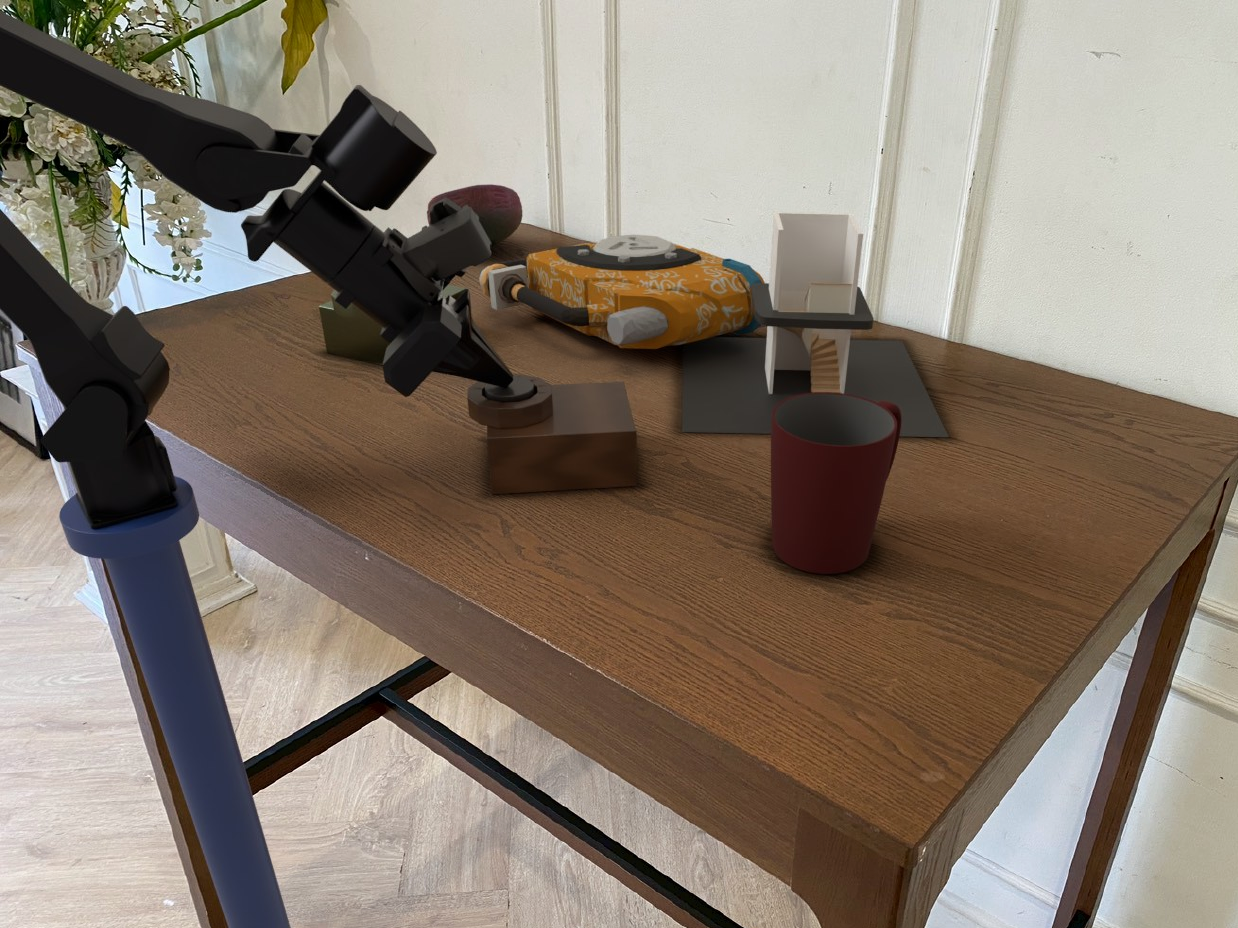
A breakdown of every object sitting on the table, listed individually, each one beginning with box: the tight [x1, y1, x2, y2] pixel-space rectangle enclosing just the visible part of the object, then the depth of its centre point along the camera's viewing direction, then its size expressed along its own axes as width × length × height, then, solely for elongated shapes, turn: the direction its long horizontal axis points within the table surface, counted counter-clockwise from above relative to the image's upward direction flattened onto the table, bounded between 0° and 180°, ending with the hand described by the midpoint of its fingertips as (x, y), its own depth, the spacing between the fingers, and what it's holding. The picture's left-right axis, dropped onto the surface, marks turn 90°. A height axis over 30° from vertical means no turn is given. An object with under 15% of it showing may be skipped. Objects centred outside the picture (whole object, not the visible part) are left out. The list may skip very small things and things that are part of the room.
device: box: [478, 234, 766, 350], centre depth 114 cm, size 23×8×30 cm
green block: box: [318, 284, 467, 366], centre depth 108 cm, size 13×10×7 cm
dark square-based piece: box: [681, 211, 950, 438], centre depth 100 cm, size 25×24×16 cm
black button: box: [485, 377, 534, 403], centre depth 84 cm, size 4×4×2 cm
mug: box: [770, 392, 902, 575], centre depth 76 cm, size 12×9×11 cm
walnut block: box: [466, 373, 638, 495], centre depth 86 cm, size 14×10×7 cm
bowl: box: [426, 183, 523, 247], centre depth 137 cm, size 16×13×8 cm
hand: (510, 382), depth 84 cm, fingers closed, pressing on black button
